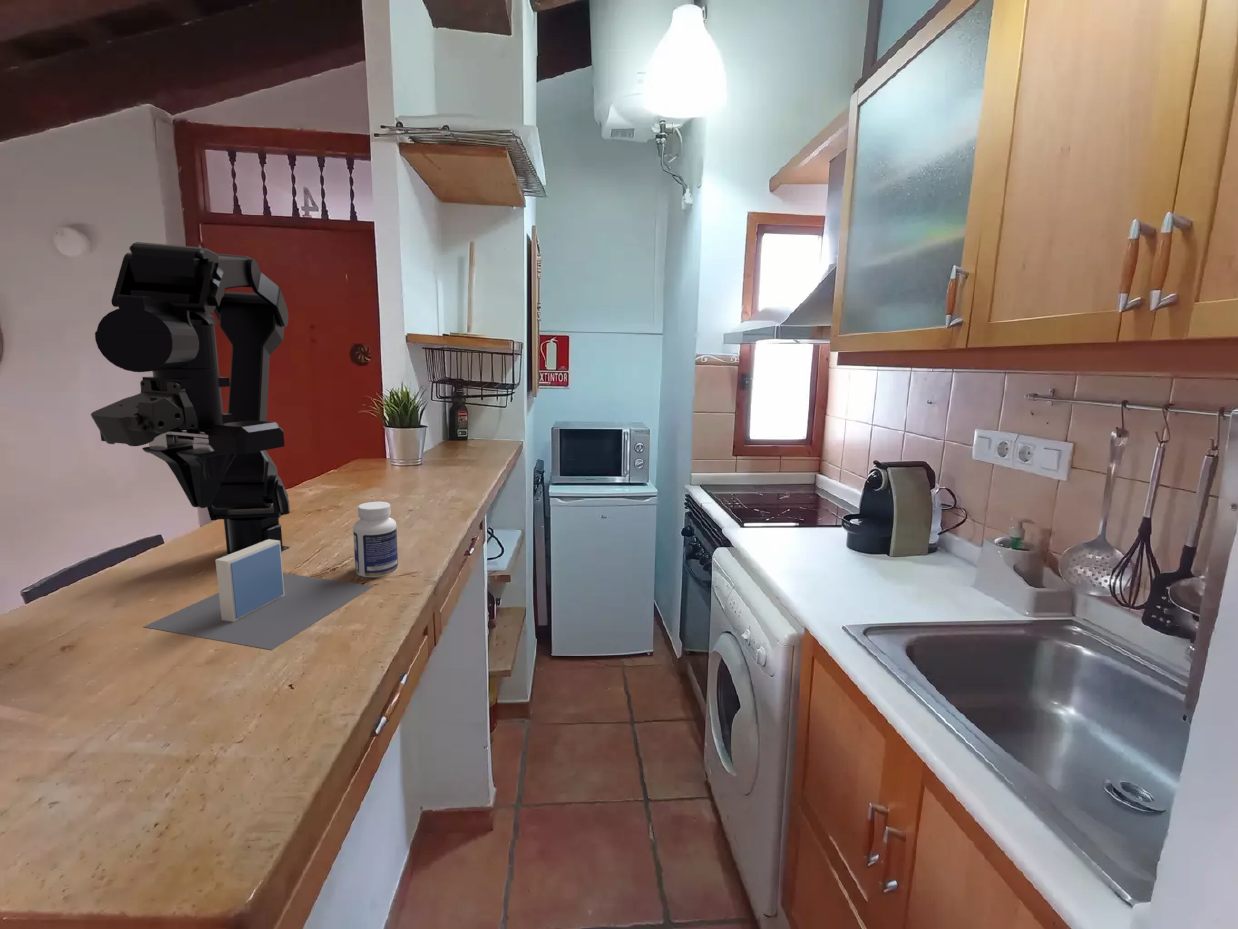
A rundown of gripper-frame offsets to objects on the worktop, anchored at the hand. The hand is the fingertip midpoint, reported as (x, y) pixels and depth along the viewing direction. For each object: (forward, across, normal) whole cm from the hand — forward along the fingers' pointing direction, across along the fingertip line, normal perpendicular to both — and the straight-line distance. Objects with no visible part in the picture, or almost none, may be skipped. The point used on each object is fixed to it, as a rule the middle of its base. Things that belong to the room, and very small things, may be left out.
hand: (201, 506), depth 63 cm
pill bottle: (+12, +12, +14) cm, 22 cm away
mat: (+12, +7, +1) cm, 14 cm away
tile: (+11, +6, 0) cm, 13 cm away
